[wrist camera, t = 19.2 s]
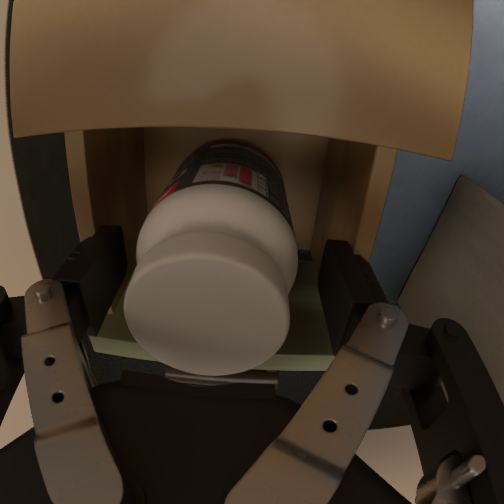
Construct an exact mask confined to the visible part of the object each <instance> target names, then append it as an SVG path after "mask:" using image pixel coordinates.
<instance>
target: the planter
mask: <svg viewBox="0 0 504 504" xmlns="http://www.w3.org/2000/svg"><path fill="white" fill-rule="evenodd" d="M398 304H399V306H400V308H401V310H402V311H403V312H404V313H405V314H406V316H407V318H408V321H409V323H410V324H413V325H417V326H421V327H425V328H431V326H432V325H433V323H434V321H435V320H437V319H439V318H448V319H452V320H454V321H456V322H458V323H459V324H461V325H462V326H463V327H464V328H465V330H466V331H467V333H468V335H469V336H470V338H471V340H472V342H473V344H474V345H475V347H476V349H477V351H478V353H479V355H480V357H481V359H482V361H483V363H484V364H485V366H486V368H487V370H488V372H489V374H490V376H491V379H492V381H493V383H494V385H495V387H496V389H497V391H498V393H499V395H500V398H501V400H502V402H503V404H504V205H503V204H502V203H501V202H499V201H498V200H497V199H495V198H494V197H493V196H491V195H490V194H489V193H487V192H486V191H485V190H483V189H482V188H481V187H479V186H478V185H476V184H475V183H474V182H472V181H471V180H469V179H468V178H466V177H465V176H461V177H459V179H458V181H457V183H456V185H455V187H454V189H453V191H452V193H451V196H450V198H449V200H448V202H447V204H446V206H445V208H444V210H443V212H442V214H441V216H440V218H439V220H438V222H437V224H436V226H435V228H434V230H433V232H432V234H431V236H430V238H429V240H428V242H427V244H426V246H425V248H424V250H423V252H422V254H421V256H420V258H419V260H418V262H417V264H416V265H415V267H414V269H413V271H412V273H411V275H410V277H409V279H408V281H407V283H406V285H405V287H404V289H403V291H402V293H401V295H400V297H399V299H398ZM441 386H442V389H443V391H444V394H445V397H446V399H447V402H448V395H447V392H446V389H445V387H444V384H443V382H441Z"/></svg>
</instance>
